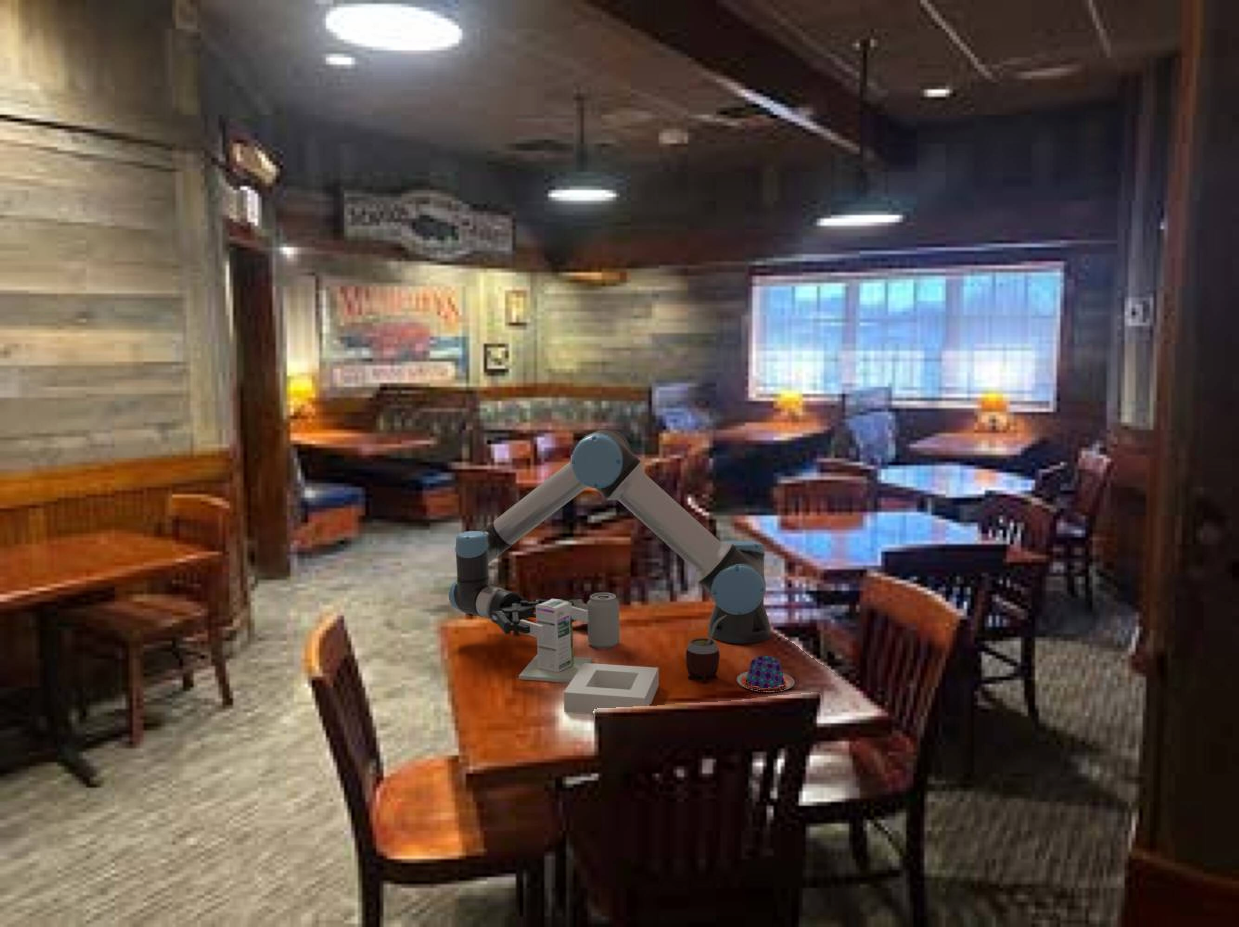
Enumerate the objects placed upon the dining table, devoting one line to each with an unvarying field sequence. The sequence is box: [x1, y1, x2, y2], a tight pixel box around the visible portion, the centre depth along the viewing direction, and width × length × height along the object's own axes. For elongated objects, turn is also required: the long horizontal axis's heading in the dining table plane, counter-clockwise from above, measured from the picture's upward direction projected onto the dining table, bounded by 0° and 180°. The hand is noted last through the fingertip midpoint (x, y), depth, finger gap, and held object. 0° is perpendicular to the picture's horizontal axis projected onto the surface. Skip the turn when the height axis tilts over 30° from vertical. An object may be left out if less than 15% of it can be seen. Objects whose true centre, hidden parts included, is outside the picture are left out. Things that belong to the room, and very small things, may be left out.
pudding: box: [736, 655, 795, 693], centre depth 188 cm, size 12×12×5 cm
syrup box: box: [535, 598, 575, 673], centre depth 196 cm, size 6×6×14 cm
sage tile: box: [518, 654, 593, 684], centre depth 197 cm, size 13×13×1 cm
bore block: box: [563, 662, 659, 715], centre depth 181 cm, size 16×16×4 cm
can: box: [586, 592, 620, 649], centre depth 212 cm, size 8×8×12 cm
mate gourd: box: [685, 615, 727, 685], centre depth 190 cm, size 8×8×15 cm
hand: (565, 624), depth 193 cm, fingers open, 13 cm apart
